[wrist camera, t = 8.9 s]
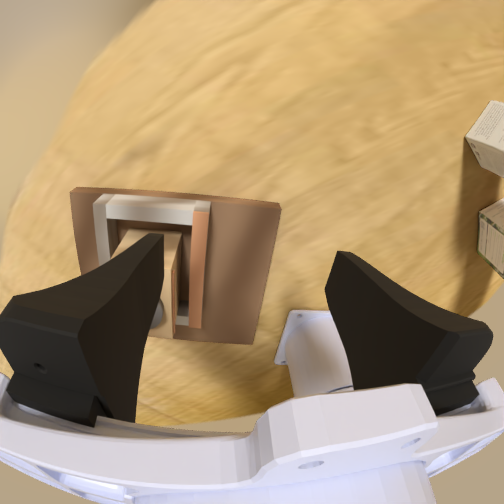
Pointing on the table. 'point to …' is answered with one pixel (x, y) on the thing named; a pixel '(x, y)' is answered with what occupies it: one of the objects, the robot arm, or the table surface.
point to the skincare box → (489, 138)
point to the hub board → (190, 251)
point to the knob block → (172, 279)
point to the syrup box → (492, 236)
